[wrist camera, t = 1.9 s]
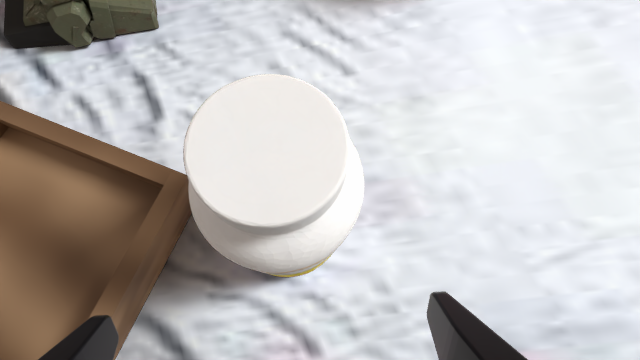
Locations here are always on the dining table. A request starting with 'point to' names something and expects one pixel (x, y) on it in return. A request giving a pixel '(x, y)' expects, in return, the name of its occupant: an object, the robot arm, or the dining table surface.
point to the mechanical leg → (74, 20)
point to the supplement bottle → (272, 174)
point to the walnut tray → (77, 232)
